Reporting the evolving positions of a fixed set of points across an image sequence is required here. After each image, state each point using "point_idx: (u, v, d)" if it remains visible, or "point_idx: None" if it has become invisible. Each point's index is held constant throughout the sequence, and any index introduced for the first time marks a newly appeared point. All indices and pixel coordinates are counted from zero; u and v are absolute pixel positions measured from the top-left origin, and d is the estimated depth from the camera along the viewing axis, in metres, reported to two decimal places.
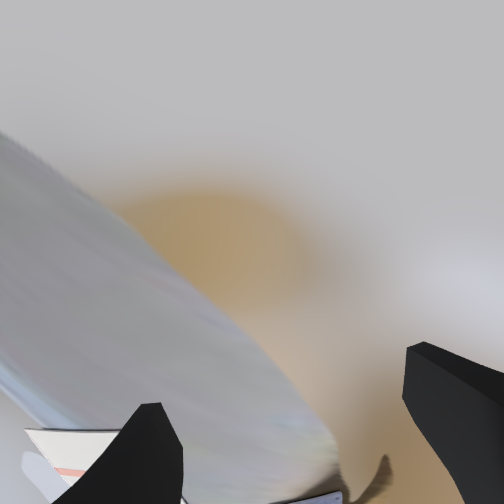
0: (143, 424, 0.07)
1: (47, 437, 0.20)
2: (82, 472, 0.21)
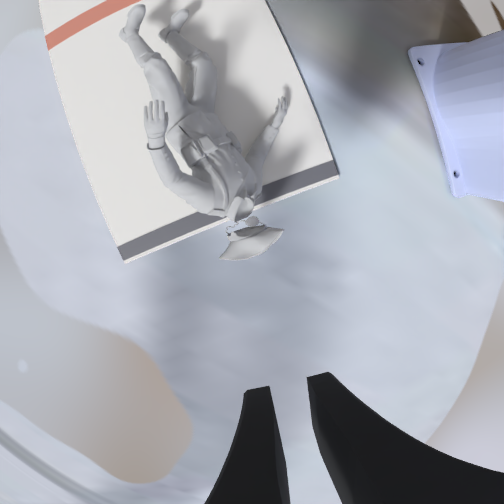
0: (265, 408, 0.07)
1: None
2: (97, 8, 0.12)
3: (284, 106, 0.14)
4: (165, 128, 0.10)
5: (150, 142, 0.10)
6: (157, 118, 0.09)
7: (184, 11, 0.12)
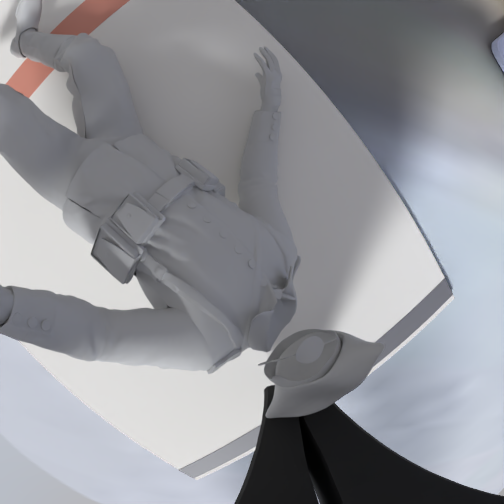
0: None
1: None
2: None
3: (273, 63, 0.06)
4: None
5: None
6: None
7: None
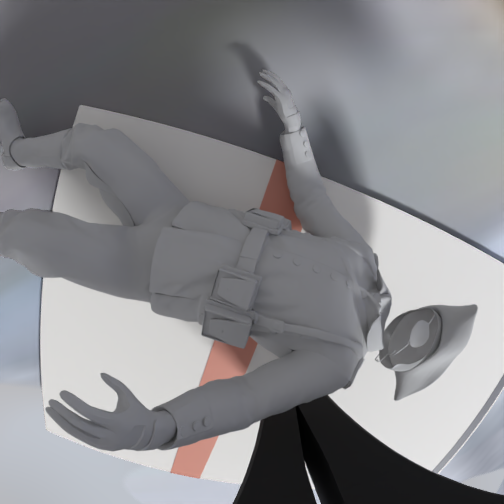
0: None
1: None
2: None
3: (280, 84, 0.06)
4: (140, 418, 0.03)
5: (145, 450, 0.03)
6: (100, 433, 0.03)
7: None
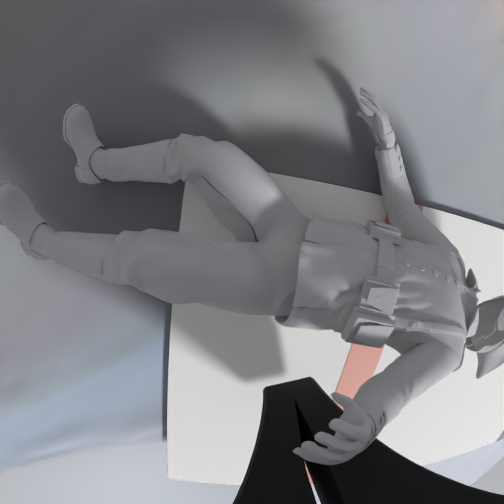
0: (286, 403, 0.07)
1: (190, 446, 0.10)
2: None
3: (378, 103, 0.07)
4: (369, 423, 0.03)
5: None
6: (353, 447, 0.03)
7: (73, 112, 0.06)
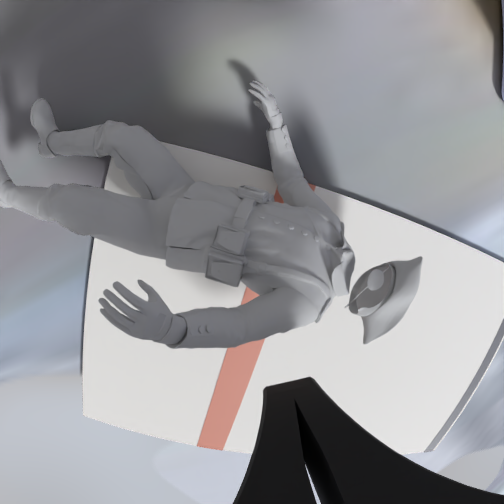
0: (286, 403, 0.07)
1: (101, 382, 0.11)
2: (221, 393, 0.12)
3: (266, 92, 0.08)
4: (163, 309, 0.05)
5: (163, 343, 0.05)
6: (137, 315, 0.05)
7: (37, 104, 0.07)
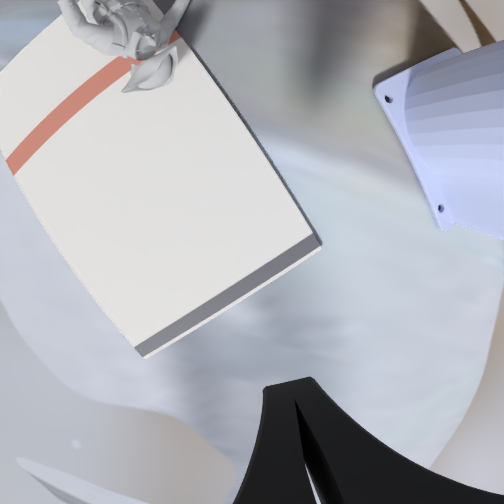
0: (286, 403, 0.07)
1: (5, 79, 0.13)
2: (46, 122, 0.14)
3: None
4: None
5: None
6: None
7: None
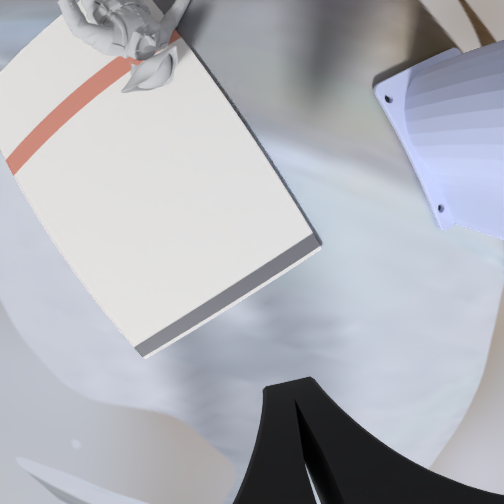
0: (286, 403, 0.07)
1: (5, 79, 0.13)
2: (46, 122, 0.14)
3: None
4: None
5: None
6: None
7: None
